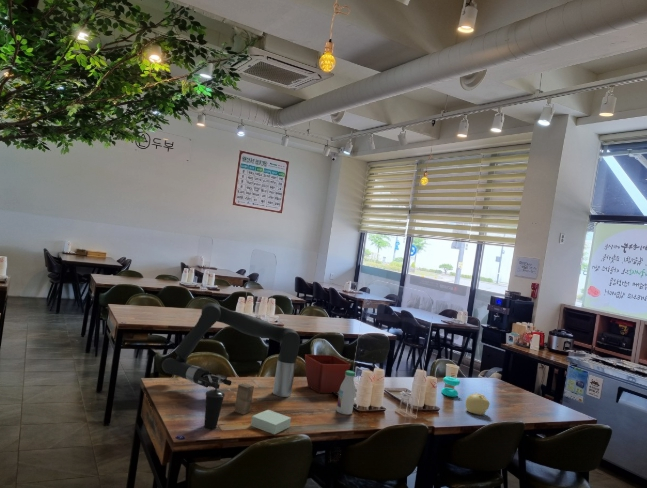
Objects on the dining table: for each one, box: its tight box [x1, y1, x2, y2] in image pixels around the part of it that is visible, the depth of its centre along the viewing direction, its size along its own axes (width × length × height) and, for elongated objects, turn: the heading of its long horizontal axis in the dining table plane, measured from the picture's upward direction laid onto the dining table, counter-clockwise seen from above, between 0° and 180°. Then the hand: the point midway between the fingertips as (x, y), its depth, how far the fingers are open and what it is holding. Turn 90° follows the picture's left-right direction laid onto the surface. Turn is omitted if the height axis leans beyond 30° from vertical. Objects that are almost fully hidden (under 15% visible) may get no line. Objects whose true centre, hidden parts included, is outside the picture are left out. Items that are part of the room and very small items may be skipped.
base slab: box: [250, 409, 292, 435], centre depth 215 cm, size 12×12×4 cm
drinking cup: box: [203, 378, 226, 430], centre depth 205 cm, size 8×8×20 cm
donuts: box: [441, 376, 461, 398], centre depth 308 cm, size 10×10×10 cm
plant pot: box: [304, 354, 351, 394], centre depth 279 cm, size 19×19×17 cm
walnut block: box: [233, 382, 255, 415], centre depth 227 cm, size 5×5×12 cm
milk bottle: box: [336, 370, 356, 416], centre depth 247 cm, size 8×8×20 cm
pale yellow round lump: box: [464, 392, 490, 416], centre depth 279 cm, size 11×12×11 cm
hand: (225, 385), depth 232 cm, fingers open, 8 cm apart
